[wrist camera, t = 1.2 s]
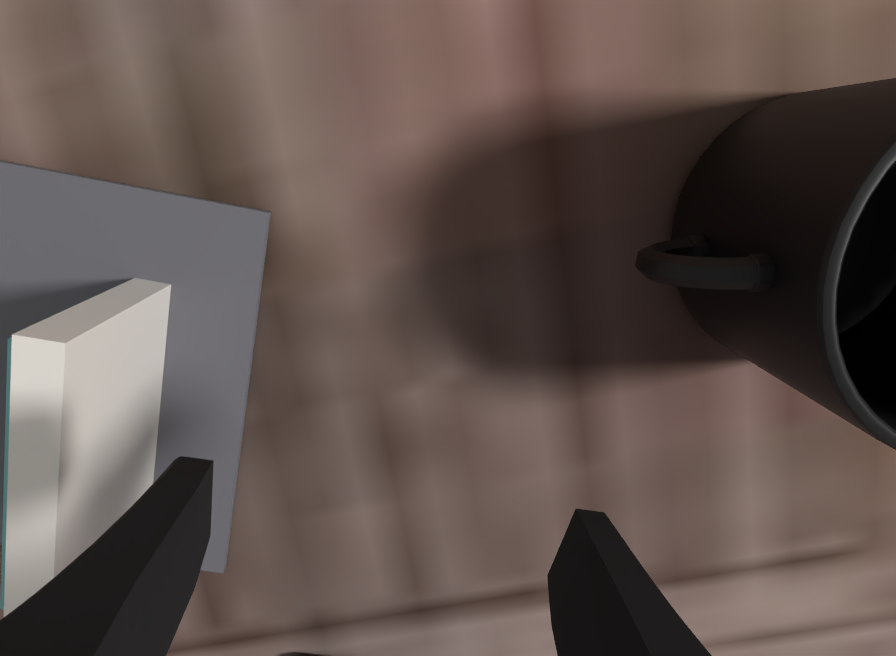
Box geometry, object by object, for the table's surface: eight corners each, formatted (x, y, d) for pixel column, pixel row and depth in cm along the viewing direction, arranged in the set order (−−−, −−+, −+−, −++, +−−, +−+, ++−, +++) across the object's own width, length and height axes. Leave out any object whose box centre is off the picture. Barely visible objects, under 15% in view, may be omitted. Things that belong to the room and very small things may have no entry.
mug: (596, 101, 22) (721, 67, 13) (943, 85, 22) (1290, 42, 13) (592, 368, 24) (695, 491, 15) (904, 349, 25) (1175, 457, 16)
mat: (226, 566, 25) (223, 572, 25) (-131, 519, 24) (-139, 525, 24) (270, 211, 22) (268, 213, 22) (-142, 133, 21) (-153, 132, 20)
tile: (152, 493, 24) (51, 627, 17) (112, 487, 24) (-5, 620, 17) (171, 284, 22) (65, 343, 15) (128, 276, 22) (2, 332, 15)
